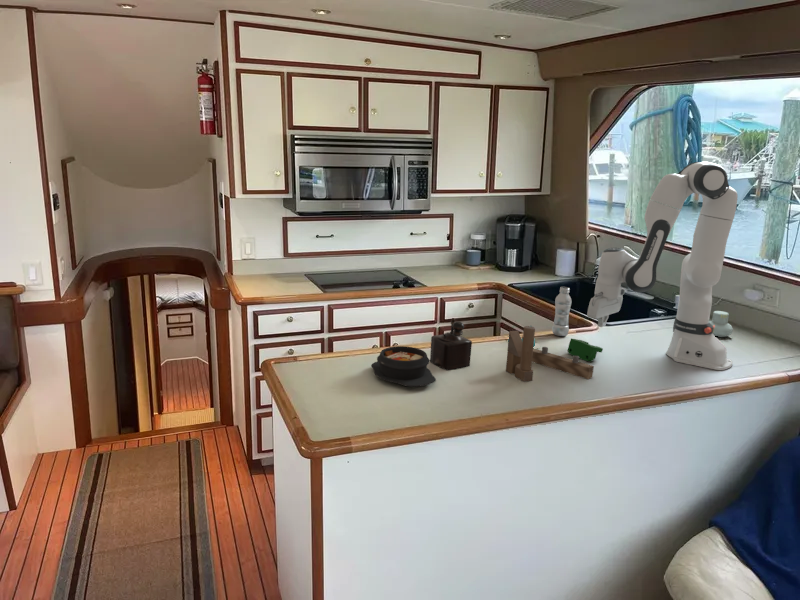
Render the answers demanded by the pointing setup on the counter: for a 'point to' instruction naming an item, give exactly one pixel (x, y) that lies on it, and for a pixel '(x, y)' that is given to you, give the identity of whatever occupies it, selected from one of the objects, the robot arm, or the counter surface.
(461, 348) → the coffee grinder
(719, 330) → the air freshener
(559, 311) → the plastic bottle
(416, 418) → the counter surface
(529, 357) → the wooden letter n
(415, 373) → the casserole
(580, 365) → the bar
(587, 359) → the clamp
